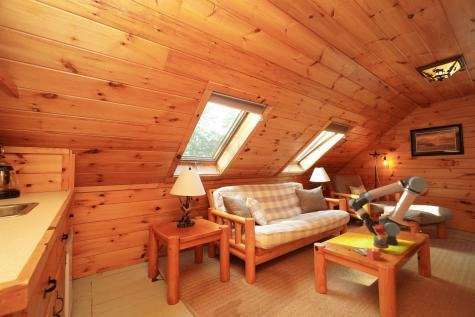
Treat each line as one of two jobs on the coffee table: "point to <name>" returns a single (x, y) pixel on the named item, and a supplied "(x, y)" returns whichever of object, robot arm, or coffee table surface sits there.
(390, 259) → the coffee table surface
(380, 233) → the stacking bear
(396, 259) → the coffee table surface
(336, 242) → the coffee table surface
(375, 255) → the red die
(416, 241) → the coffee table surface
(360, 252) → the game track
